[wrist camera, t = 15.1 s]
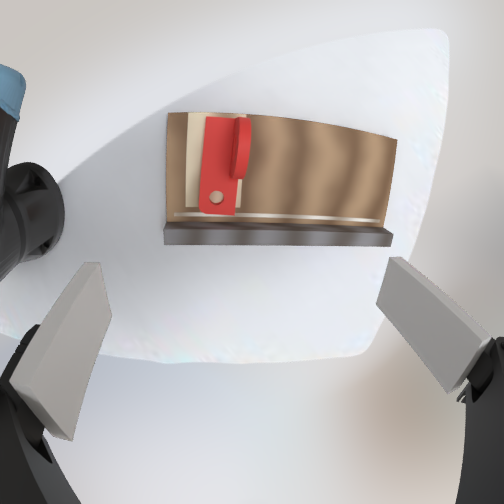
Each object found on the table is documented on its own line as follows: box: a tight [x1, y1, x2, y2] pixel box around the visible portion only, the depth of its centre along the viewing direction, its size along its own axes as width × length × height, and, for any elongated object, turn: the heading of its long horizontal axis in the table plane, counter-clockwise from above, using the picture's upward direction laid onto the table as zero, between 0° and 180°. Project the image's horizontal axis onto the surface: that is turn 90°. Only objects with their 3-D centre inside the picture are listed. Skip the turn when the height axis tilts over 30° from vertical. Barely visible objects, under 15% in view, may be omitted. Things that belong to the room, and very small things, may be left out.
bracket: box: [199, 116, 251, 216], centre depth 29 cm, size 12×4×8 cm, turn 174°
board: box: [164, 112, 397, 247], centre depth 34 cm, size 32×16×5 cm, turn 86°
